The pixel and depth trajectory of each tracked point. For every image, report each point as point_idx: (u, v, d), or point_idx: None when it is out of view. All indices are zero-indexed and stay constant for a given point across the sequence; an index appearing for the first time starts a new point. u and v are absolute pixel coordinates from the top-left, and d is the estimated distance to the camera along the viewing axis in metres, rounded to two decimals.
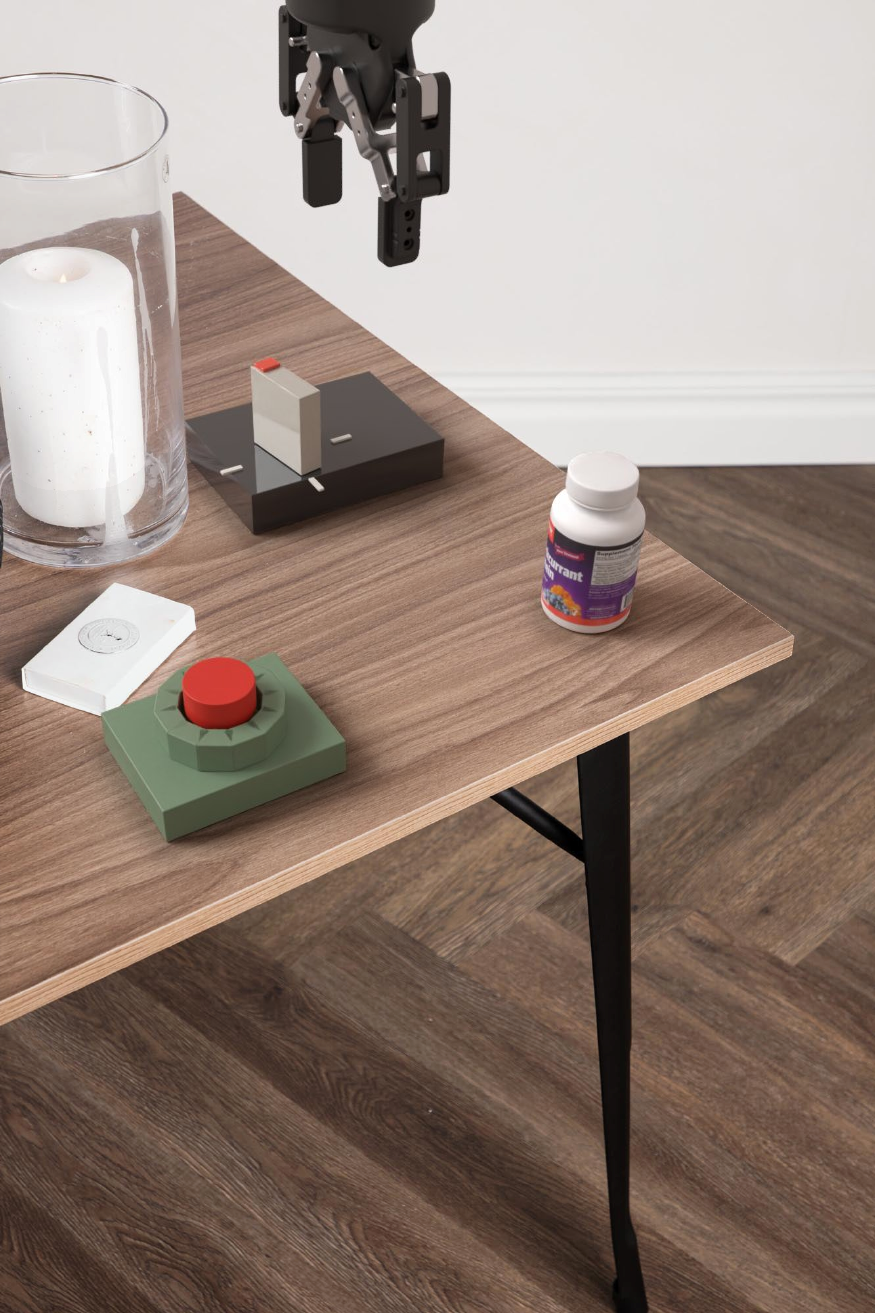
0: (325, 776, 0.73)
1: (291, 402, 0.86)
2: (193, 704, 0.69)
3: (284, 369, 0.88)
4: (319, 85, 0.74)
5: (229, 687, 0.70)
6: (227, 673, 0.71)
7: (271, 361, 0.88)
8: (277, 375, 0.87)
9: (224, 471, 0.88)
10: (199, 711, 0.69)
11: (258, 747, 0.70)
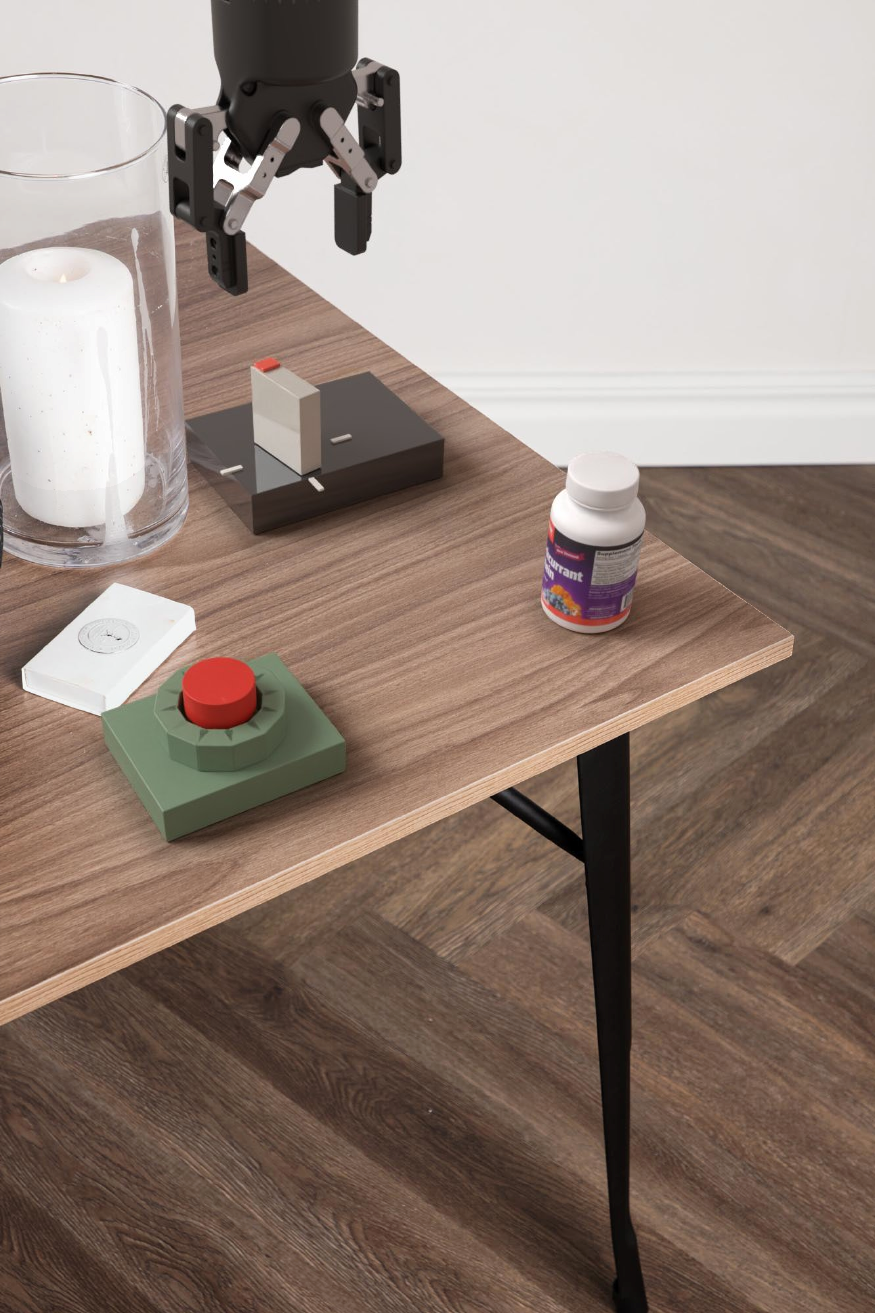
0: (325, 776, 0.73)
1: (291, 402, 0.86)
2: (193, 704, 0.69)
3: (284, 369, 0.88)
4: None
5: (229, 687, 0.70)
6: (227, 673, 0.71)
7: (271, 361, 0.88)
8: (277, 375, 0.87)
9: (224, 471, 0.88)
10: (199, 711, 0.69)
11: (258, 747, 0.70)
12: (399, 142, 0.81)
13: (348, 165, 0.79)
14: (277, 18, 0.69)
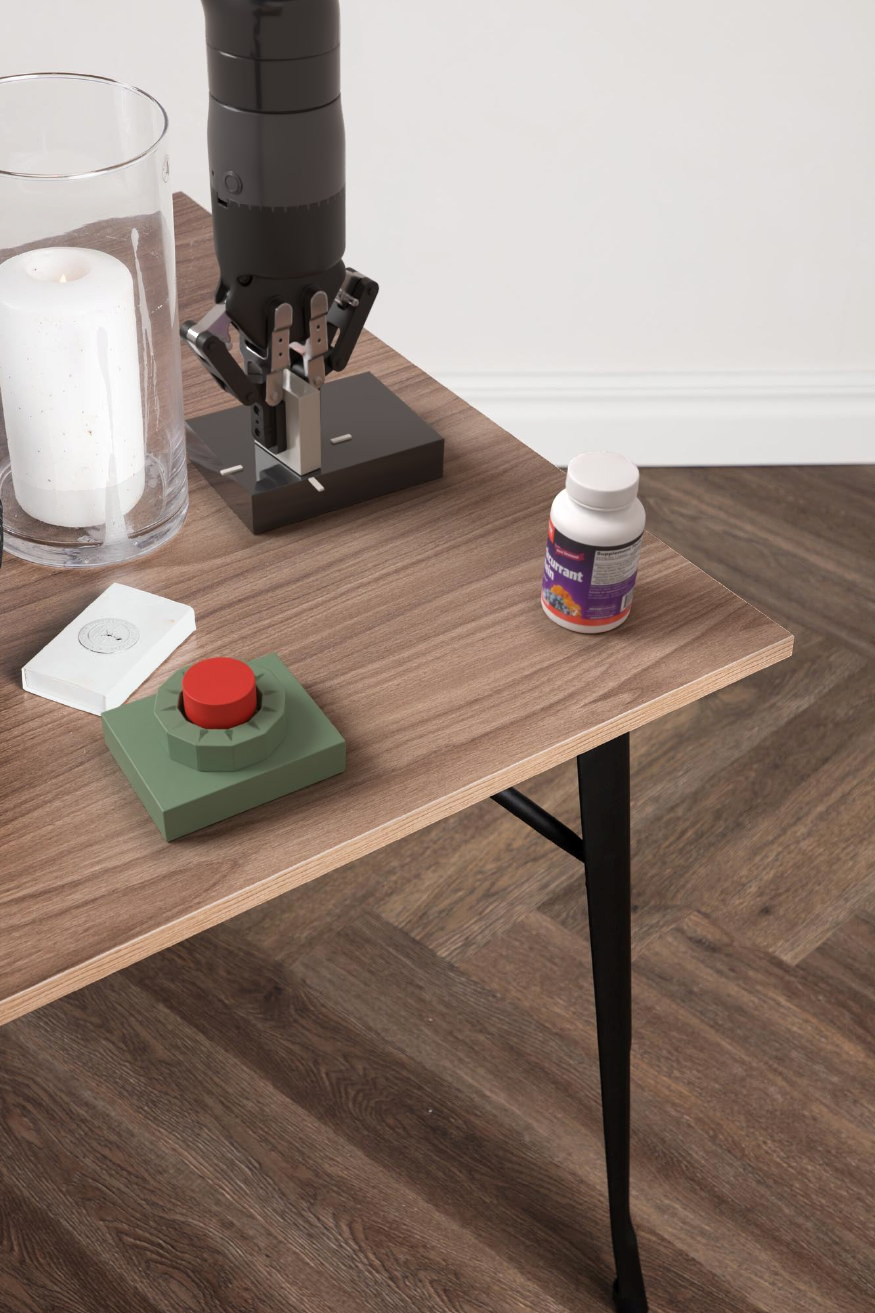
0: (325, 776, 0.73)
1: (291, 402, 0.86)
2: (193, 704, 0.69)
3: (284, 369, 0.88)
4: None
5: (229, 687, 0.70)
6: (227, 673, 0.71)
7: None
8: None
9: (224, 471, 0.88)
10: (199, 711, 0.69)
11: (258, 747, 0.70)
12: (352, 347, 0.88)
13: (311, 352, 0.85)
14: (270, 224, 0.76)
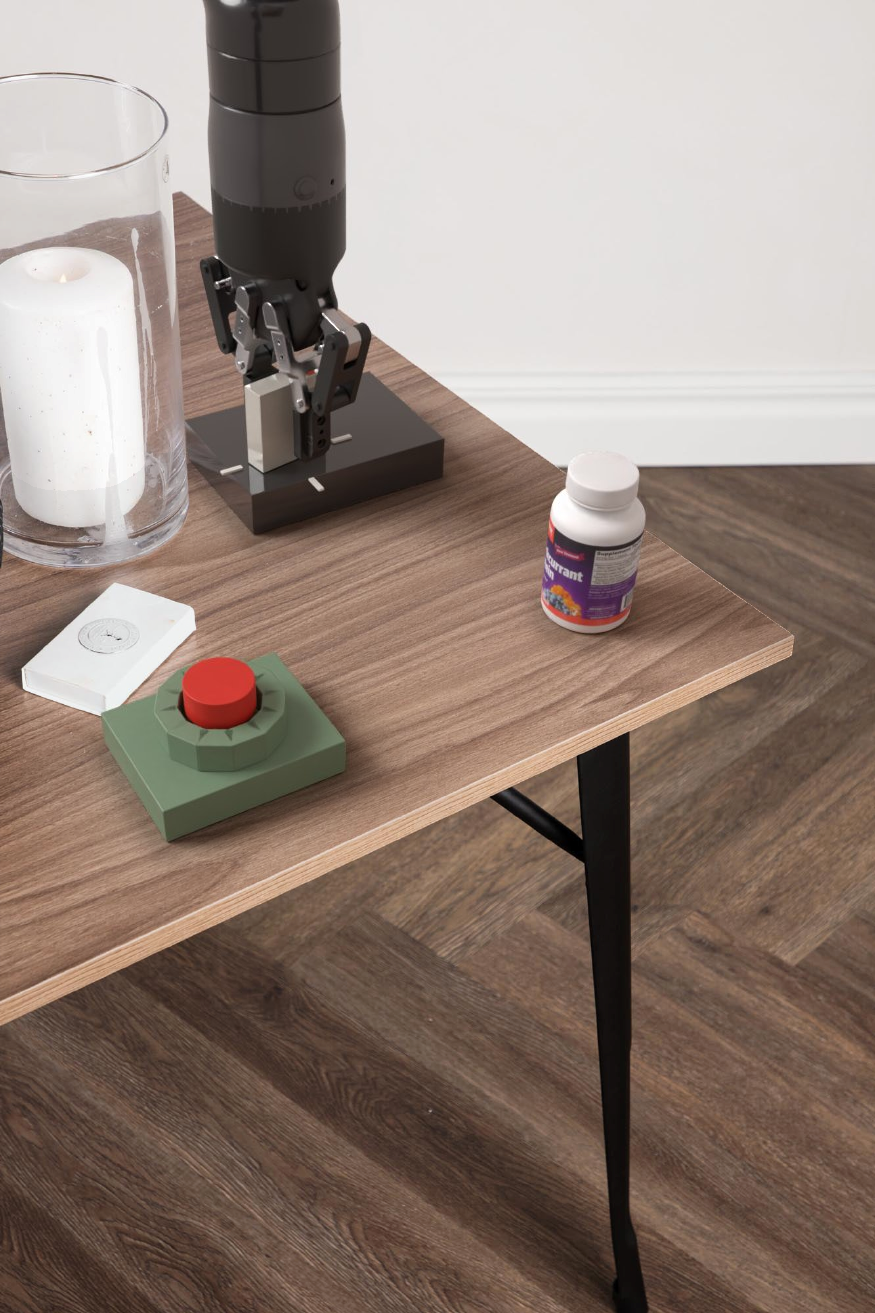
0: (325, 776, 0.73)
1: None
2: (193, 704, 0.69)
3: None
4: None
5: (229, 687, 0.70)
6: (227, 673, 0.71)
7: None
8: None
9: (224, 471, 0.88)
10: (199, 711, 0.69)
11: (258, 747, 0.70)
12: (325, 397, 0.82)
13: (278, 365, 0.84)
14: None
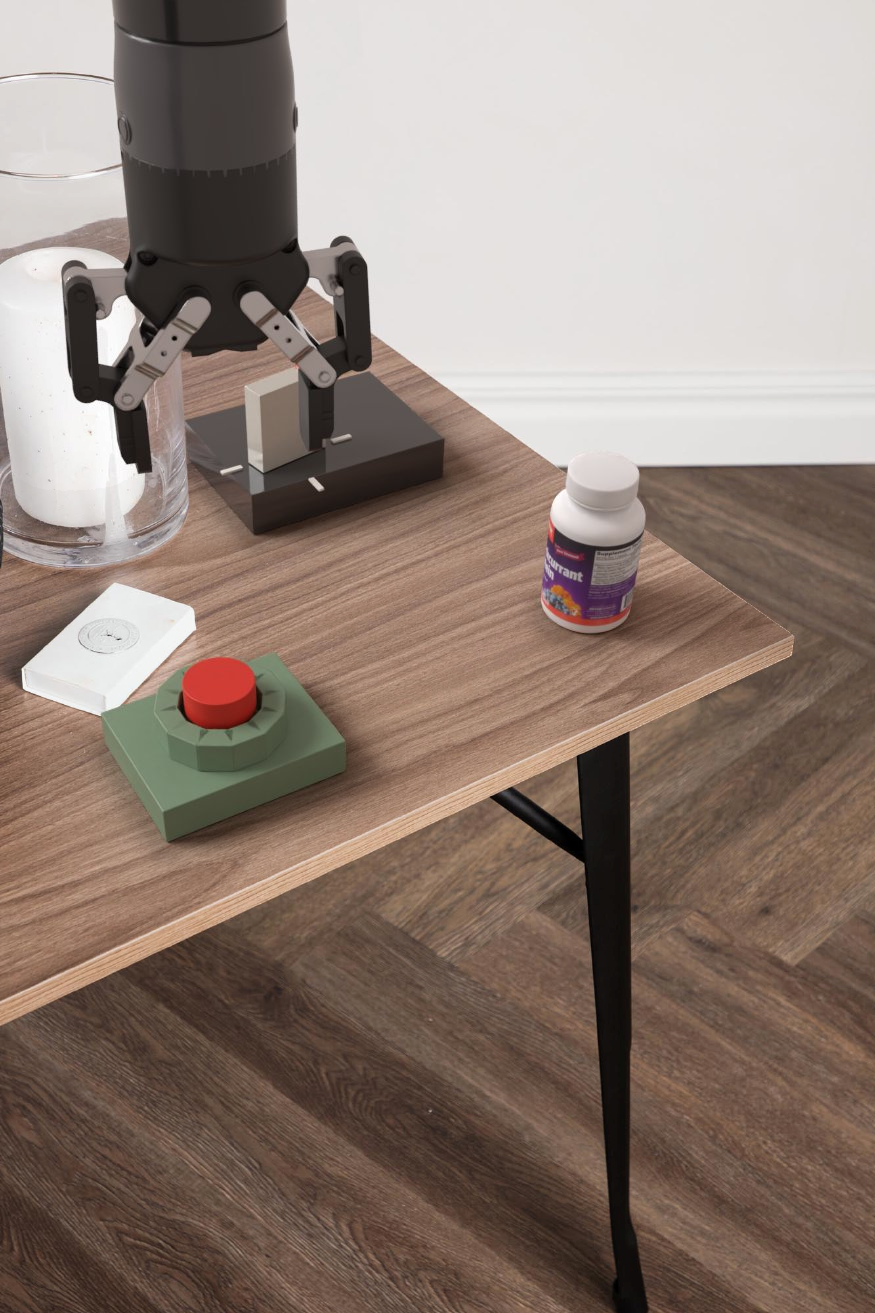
0: (325, 776, 0.73)
1: None
2: (193, 704, 0.69)
3: None
4: None
5: (229, 687, 0.70)
6: (227, 673, 0.71)
7: None
8: (289, 374, 0.87)
9: (224, 471, 0.88)
10: (199, 711, 0.69)
11: (258, 747, 0.70)
12: (368, 337, 0.68)
13: (286, 356, 0.67)
14: (161, 189, 0.59)
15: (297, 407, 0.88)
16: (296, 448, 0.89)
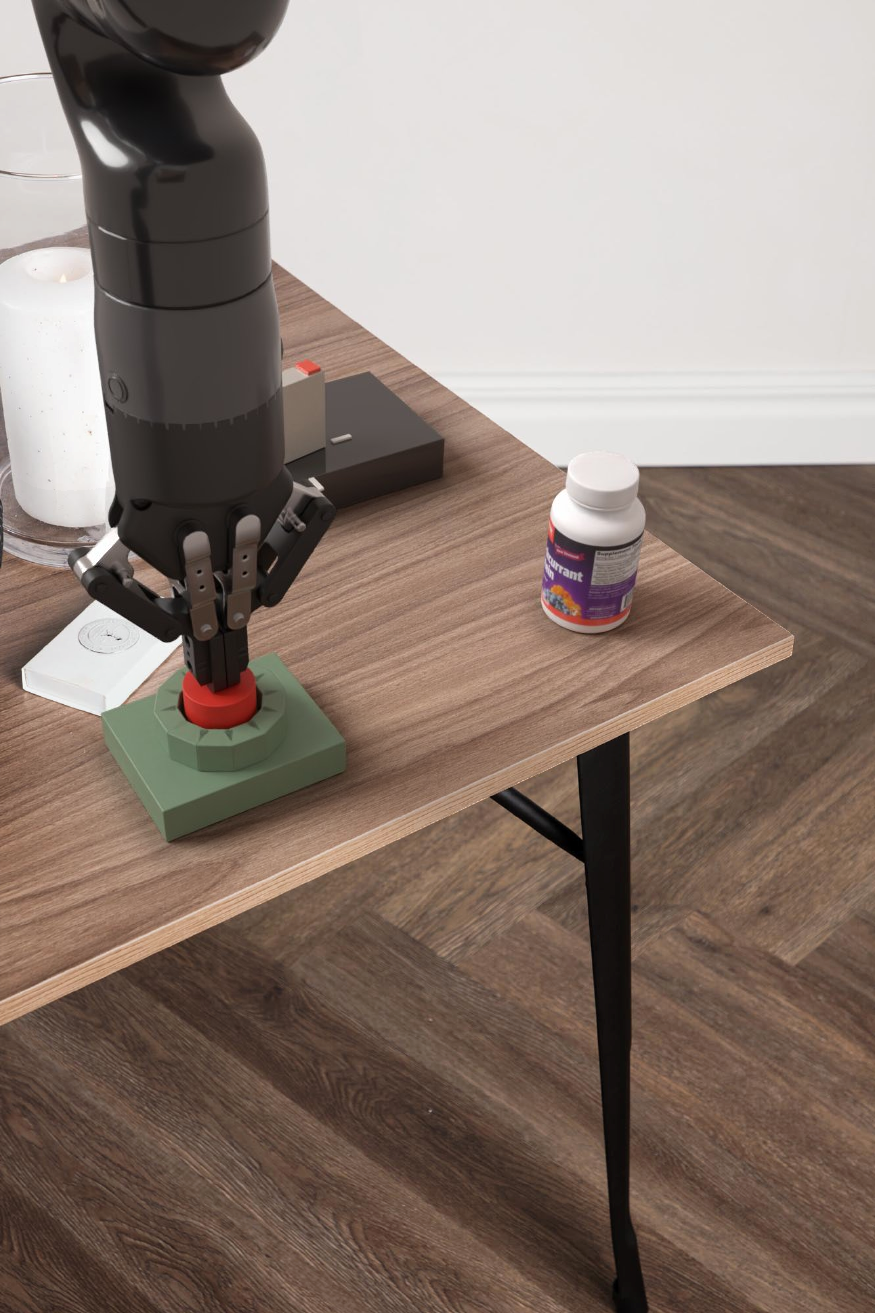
0: (325, 776, 0.73)
1: None
2: (193, 706, 0.70)
3: (301, 377, 0.87)
4: None
5: (229, 689, 0.70)
6: None
7: (311, 367, 0.87)
8: (289, 374, 0.87)
9: None
10: (199, 713, 0.70)
11: (258, 747, 0.70)
12: (291, 580, 0.68)
13: (232, 586, 0.65)
14: (165, 443, 0.57)
15: (297, 407, 0.88)
16: (296, 448, 0.89)
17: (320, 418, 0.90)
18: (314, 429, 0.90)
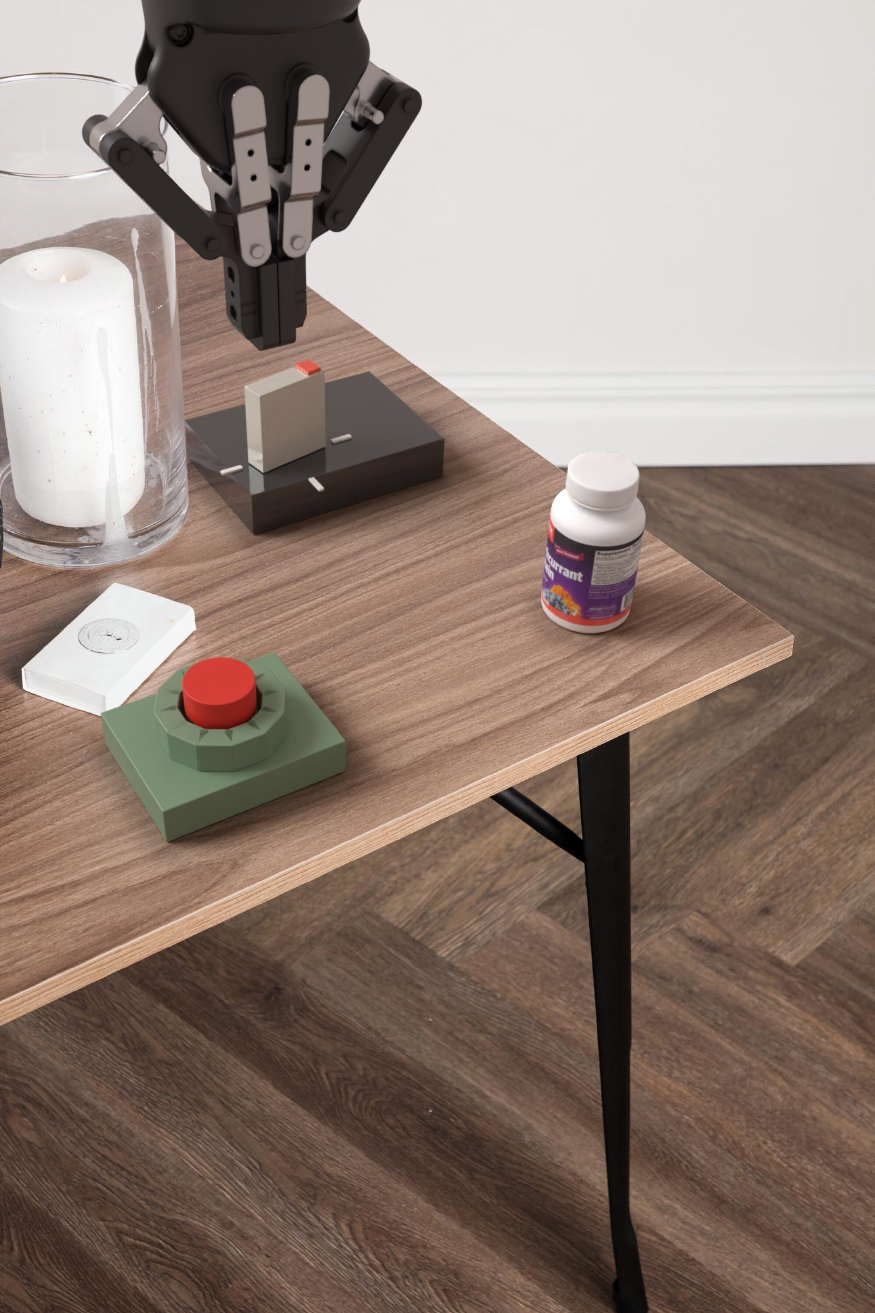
0: (325, 776, 0.73)
1: None
2: (193, 704, 0.69)
3: (301, 377, 0.87)
4: None
5: (229, 687, 0.70)
6: (227, 673, 0.71)
7: (311, 367, 0.87)
8: (289, 374, 0.87)
9: (224, 471, 0.88)
10: (199, 711, 0.69)
11: (258, 747, 0.70)
12: (363, 196, 0.54)
13: (291, 184, 0.51)
14: None
15: (297, 407, 0.88)
16: (296, 448, 0.89)
17: (320, 418, 0.90)
18: (314, 429, 0.90)
